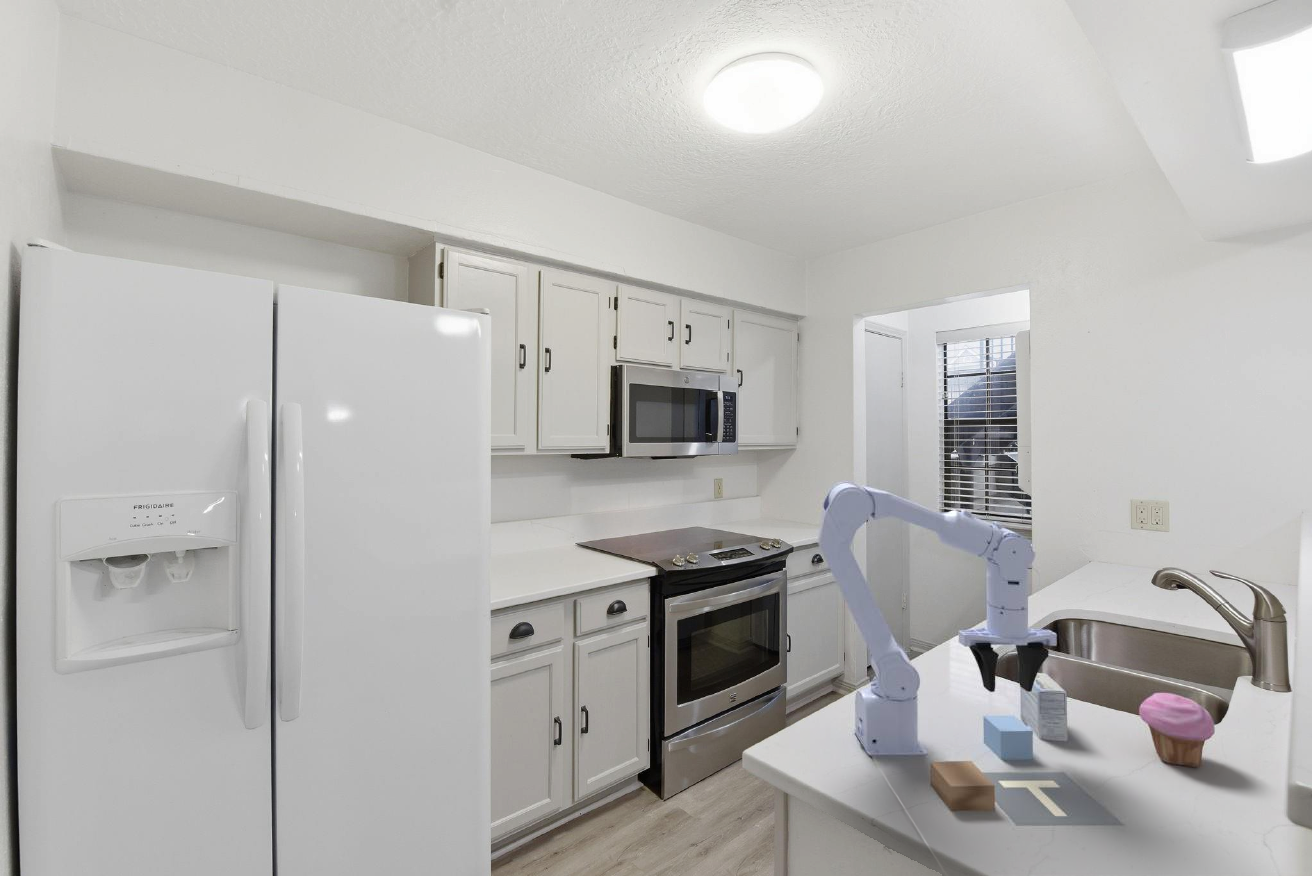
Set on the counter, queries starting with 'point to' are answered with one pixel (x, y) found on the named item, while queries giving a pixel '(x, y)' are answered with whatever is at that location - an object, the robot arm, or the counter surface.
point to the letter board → (1047, 800)
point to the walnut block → (962, 786)
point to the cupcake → (1177, 727)
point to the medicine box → (1045, 709)
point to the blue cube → (1008, 737)
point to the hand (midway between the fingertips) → (1007, 689)
